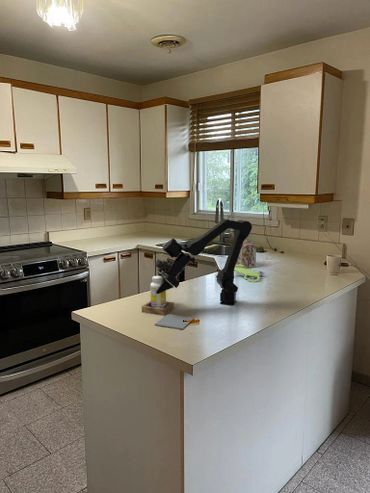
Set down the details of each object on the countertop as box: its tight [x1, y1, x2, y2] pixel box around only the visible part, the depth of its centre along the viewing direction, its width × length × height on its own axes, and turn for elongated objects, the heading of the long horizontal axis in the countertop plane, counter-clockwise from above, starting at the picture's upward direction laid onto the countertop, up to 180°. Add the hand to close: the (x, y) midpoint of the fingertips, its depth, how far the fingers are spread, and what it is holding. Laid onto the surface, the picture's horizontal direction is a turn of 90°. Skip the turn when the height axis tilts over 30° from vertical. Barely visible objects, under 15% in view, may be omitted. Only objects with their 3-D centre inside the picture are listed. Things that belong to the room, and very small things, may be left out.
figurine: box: [234, 264, 265, 283], centre depth 224 cm, size 18×27×6 cm
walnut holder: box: [141, 300, 175, 316], centre depth 165 cm, size 11×11×2 cm
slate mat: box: [154, 313, 195, 331], centre depth 150 cm, size 12×12×1 cm
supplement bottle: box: [149, 275, 167, 308], centre depth 164 cm, size 7×7×13 cm
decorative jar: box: [236, 239, 257, 269], centre depth 248 cm, size 12×12×18 cm
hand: (155, 291), depth 164 cm, fingers closed on supplement bottle, 7 cm apart
